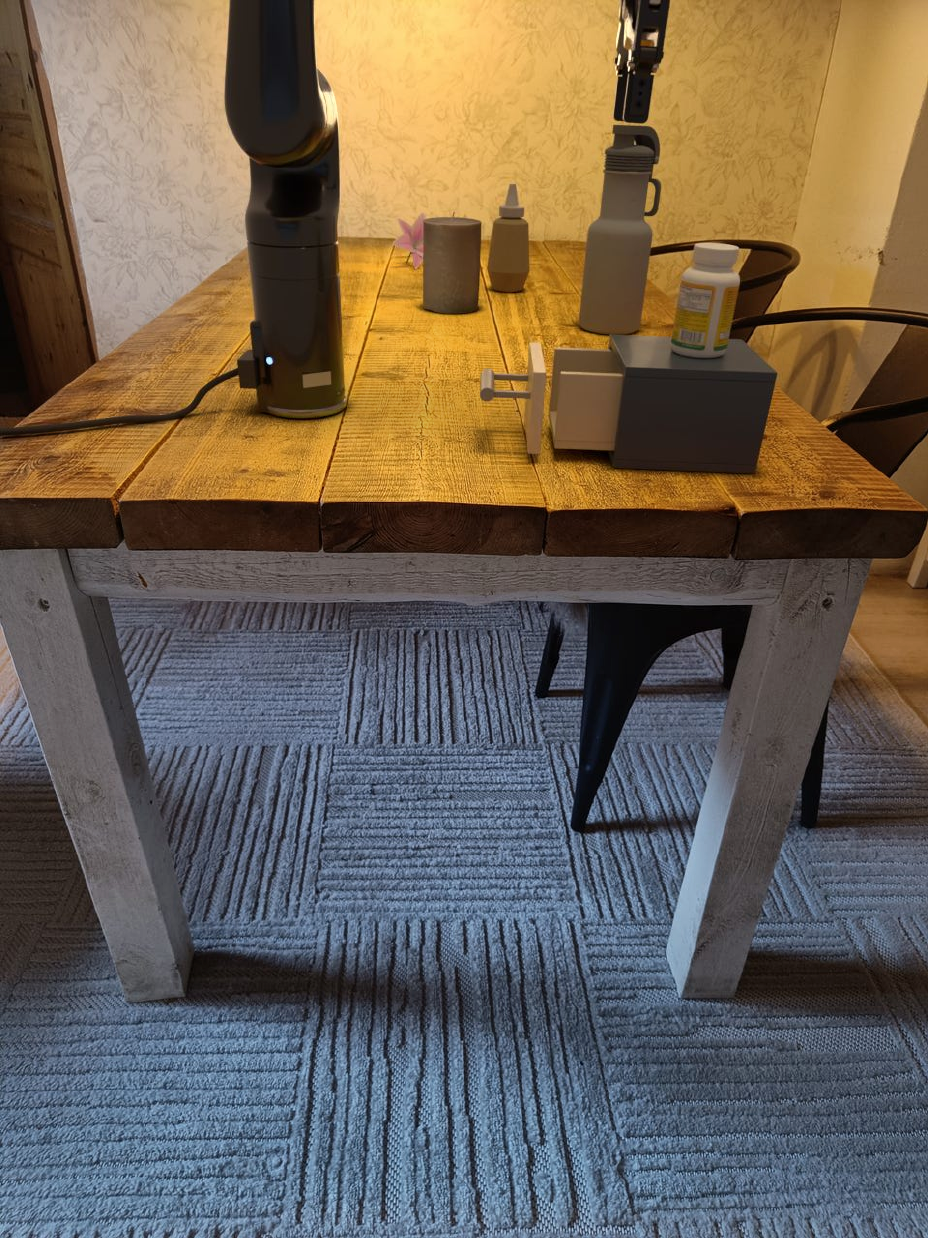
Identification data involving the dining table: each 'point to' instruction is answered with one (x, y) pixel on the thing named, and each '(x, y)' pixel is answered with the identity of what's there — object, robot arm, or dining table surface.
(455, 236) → the pillar candle
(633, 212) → the water bottle
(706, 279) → the supplement bottle
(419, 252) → the lily
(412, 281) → the dining table surface
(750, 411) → the cabinet
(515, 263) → the squeeze bottle
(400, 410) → the dining table surface
